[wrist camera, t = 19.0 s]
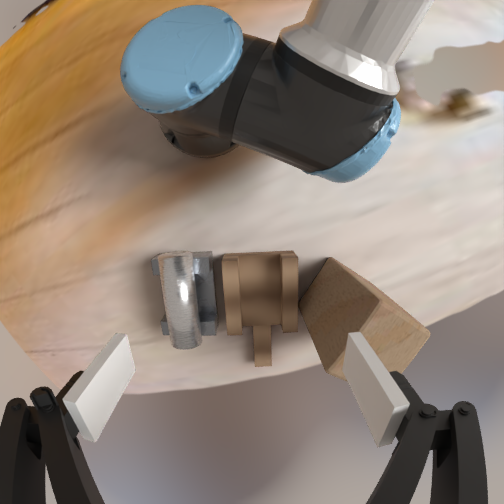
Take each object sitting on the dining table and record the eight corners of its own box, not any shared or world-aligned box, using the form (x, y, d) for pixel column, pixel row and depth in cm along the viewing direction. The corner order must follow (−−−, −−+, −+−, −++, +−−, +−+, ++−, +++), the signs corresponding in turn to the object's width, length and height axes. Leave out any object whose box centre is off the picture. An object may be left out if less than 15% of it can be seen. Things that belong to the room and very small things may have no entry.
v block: (158, 253, 45) (151, 259, 41) (211, 251, 45) (208, 256, 41) (169, 324, 48) (163, 335, 44) (218, 324, 48) (215, 335, 44)
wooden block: (296, 304, 47) (324, 373, 27) (328, 255, 45) (380, 299, 26) (340, 328, 48) (382, 396, 29) (371, 283, 46) (433, 334, 27)
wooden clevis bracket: (224, 253, 45) (221, 261, 40) (292, 250, 45) (298, 257, 40) (233, 361, 49) (231, 377, 44) (292, 358, 49) (296, 373, 44)
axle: (161, 252, 41) (154, 259, 36) (193, 250, 42) (190, 257, 37) (173, 334, 44) (168, 349, 39) (203, 333, 44) (201, 348, 40)
